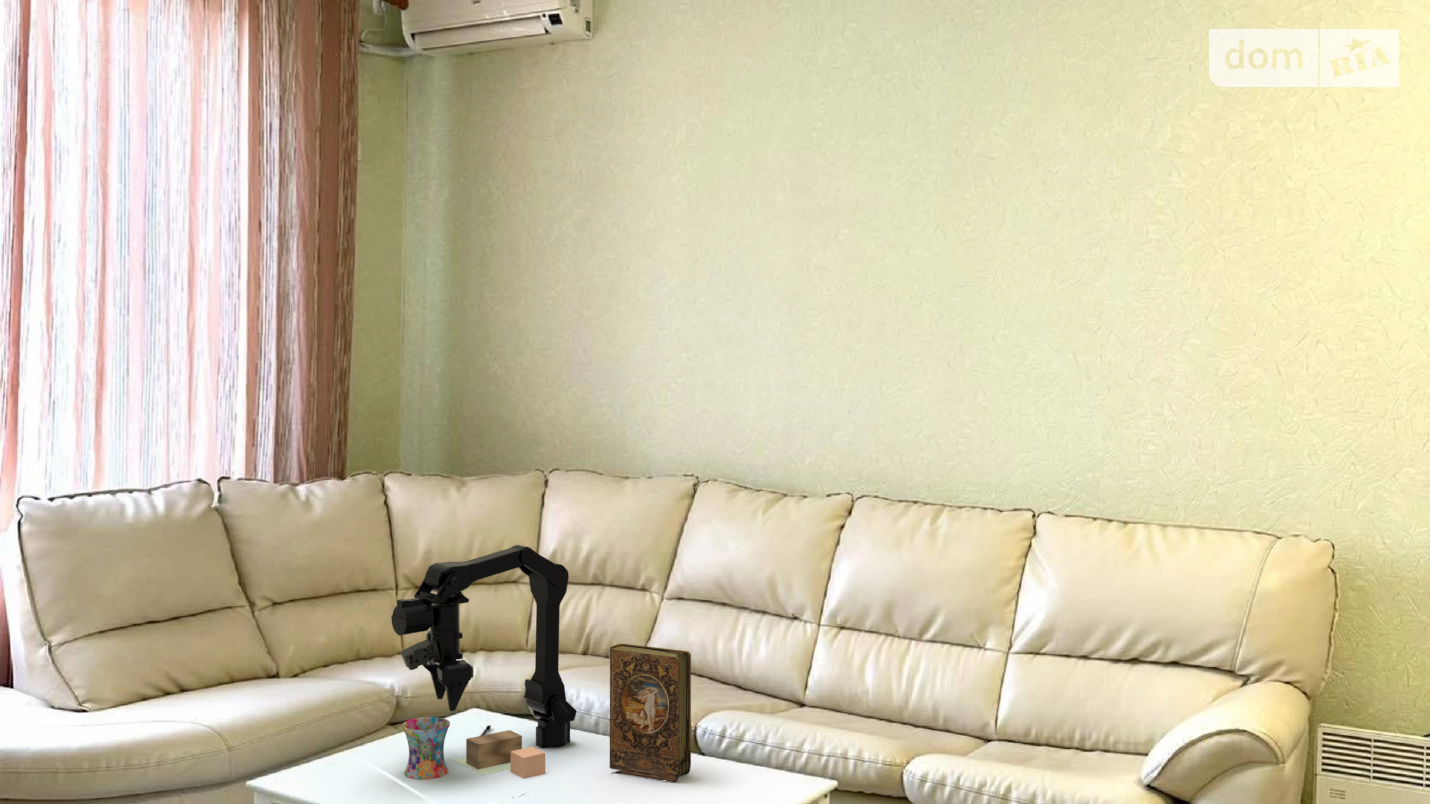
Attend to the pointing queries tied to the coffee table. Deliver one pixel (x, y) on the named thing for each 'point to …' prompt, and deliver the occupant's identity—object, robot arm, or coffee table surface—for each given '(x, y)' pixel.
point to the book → (650, 711)
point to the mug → (426, 747)
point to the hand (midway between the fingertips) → (446, 704)
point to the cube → (527, 762)
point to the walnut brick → (492, 749)
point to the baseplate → (485, 770)
